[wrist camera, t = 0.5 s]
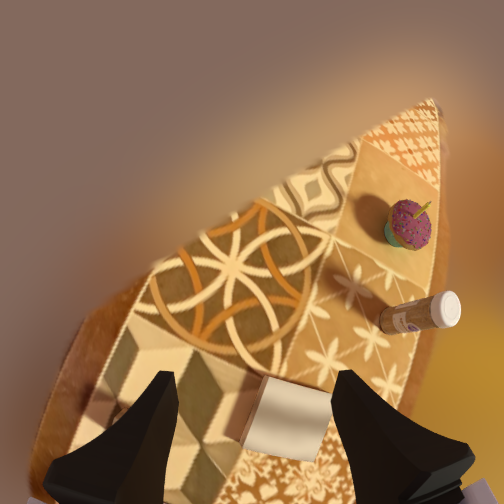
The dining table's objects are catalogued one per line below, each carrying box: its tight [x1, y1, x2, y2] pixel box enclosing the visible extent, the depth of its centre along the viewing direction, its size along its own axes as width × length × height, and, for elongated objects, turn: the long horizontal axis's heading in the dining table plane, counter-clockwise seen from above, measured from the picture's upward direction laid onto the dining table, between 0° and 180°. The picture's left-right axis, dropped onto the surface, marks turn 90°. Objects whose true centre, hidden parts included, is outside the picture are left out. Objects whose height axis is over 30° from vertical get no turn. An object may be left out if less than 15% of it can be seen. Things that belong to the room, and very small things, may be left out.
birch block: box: [239, 375, 333, 462], centre depth 34 cm, size 10×10×3 cm
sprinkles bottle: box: [380, 291, 461, 335], centre depth 36 cm, size 5×5×13 cm
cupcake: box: [384, 199, 431, 251], centre depth 42 cm, size 9×8×12 cm
